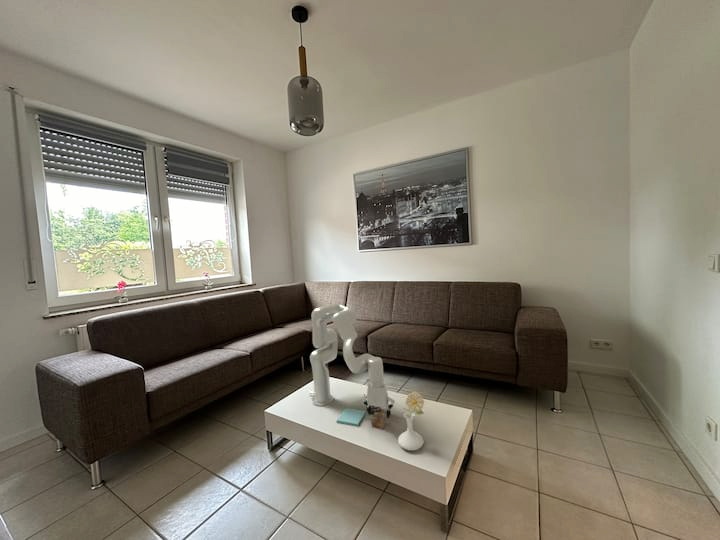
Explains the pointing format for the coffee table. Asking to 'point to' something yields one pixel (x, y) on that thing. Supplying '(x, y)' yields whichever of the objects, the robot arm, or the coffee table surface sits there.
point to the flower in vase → (410, 437)
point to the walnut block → (378, 420)
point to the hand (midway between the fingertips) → (379, 415)
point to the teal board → (351, 417)
